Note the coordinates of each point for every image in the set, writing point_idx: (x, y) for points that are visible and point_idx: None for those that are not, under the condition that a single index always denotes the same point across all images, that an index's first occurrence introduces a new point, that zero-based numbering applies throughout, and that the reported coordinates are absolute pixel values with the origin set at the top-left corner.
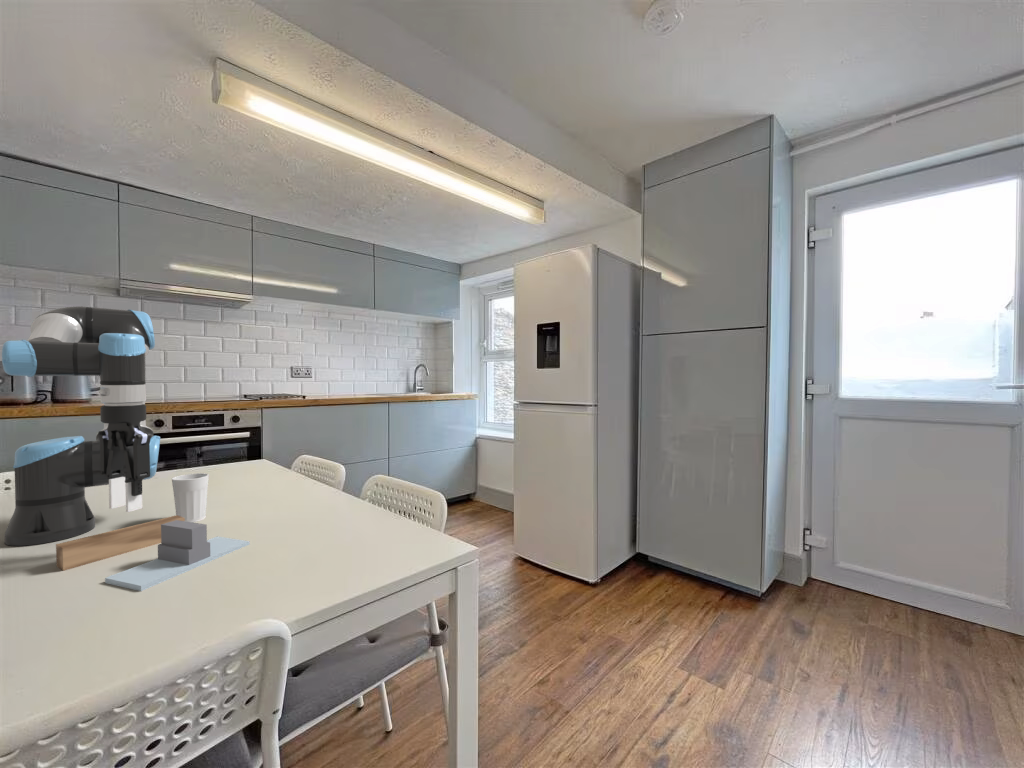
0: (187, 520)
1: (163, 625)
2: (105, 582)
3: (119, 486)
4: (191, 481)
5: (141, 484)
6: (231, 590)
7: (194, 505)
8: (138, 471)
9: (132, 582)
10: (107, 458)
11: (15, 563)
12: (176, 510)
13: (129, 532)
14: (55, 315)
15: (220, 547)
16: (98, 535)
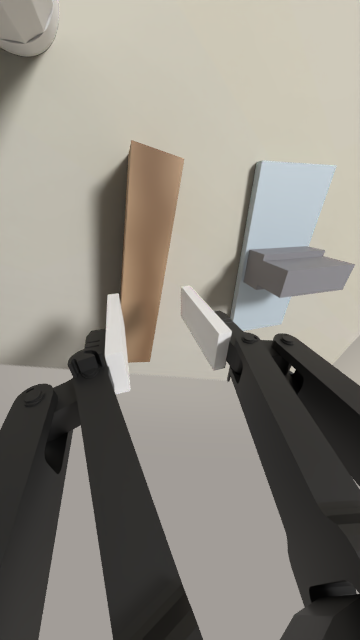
0: (45, 32)
1: (327, 334)
2: None
3: (124, 345)
4: None
5: (240, 330)
6: (353, 285)
7: None
8: (301, 387)
9: (267, 324)
10: (48, 524)
11: (40, 362)
12: None
13: (162, 285)
14: None
15: (301, 212)
16: (131, 320)
